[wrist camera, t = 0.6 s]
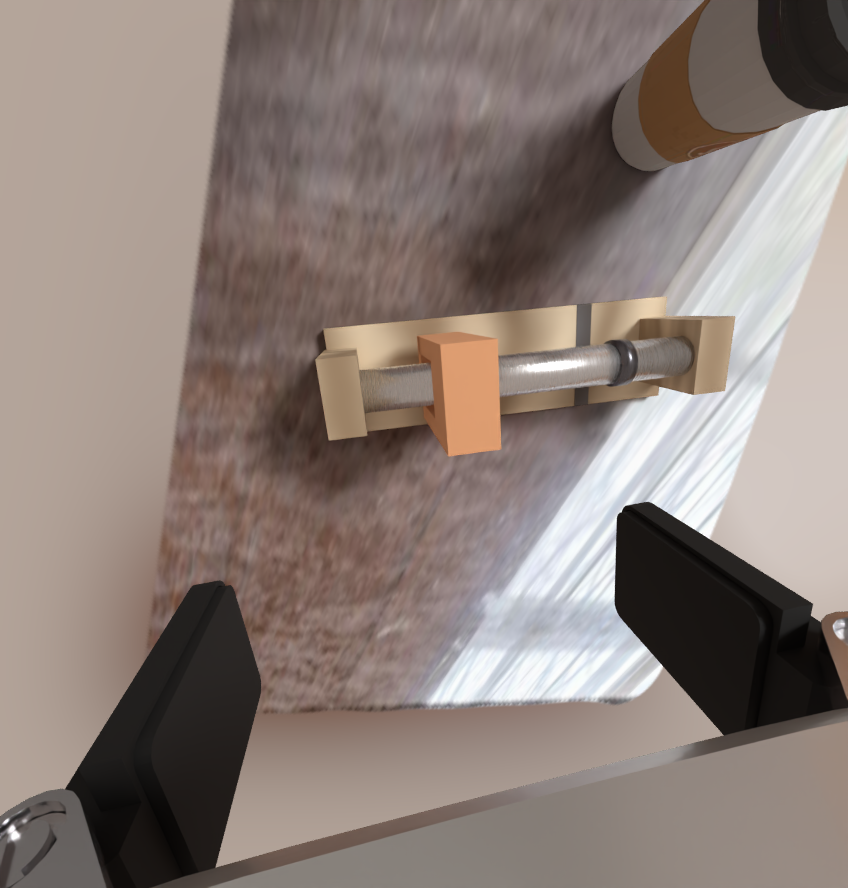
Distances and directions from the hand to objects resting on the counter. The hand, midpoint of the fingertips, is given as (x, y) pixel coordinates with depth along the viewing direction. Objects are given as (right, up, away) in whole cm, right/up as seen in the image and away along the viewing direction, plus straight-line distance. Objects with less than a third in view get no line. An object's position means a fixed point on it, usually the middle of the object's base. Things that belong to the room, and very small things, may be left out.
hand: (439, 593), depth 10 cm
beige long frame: (+6, +10, +24) cm, 26 cm away
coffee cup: (+16, +27, +20) cm, 37 cm away
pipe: (+6, +9, +20) cm, 23 cm away
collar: (+1, +9, +21) cm, 22 cm away
